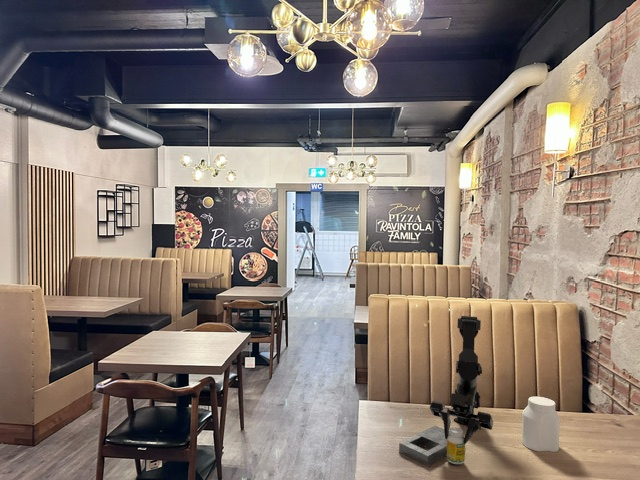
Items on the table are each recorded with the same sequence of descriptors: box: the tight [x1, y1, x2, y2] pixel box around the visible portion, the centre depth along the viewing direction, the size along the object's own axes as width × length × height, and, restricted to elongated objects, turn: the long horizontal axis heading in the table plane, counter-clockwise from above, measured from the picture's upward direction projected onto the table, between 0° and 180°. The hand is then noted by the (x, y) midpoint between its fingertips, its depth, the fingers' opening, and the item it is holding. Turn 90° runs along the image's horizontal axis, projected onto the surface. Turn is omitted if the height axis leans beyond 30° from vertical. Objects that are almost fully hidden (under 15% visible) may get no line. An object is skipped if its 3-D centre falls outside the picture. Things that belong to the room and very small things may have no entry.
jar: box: [520, 396, 561, 453], centre depth 155 cm, size 12×10×15 cm
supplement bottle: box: [446, 426, 466, 465], centre depth 142 cm, size 5×5×10 cm
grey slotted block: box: [398, 425, 450, 466], centre depth 151 cm, size 20×11×3 cm, turn 132°
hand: (454, 441), depth 141 cm, fingers closed on supplement bottle, 5 cm apart
